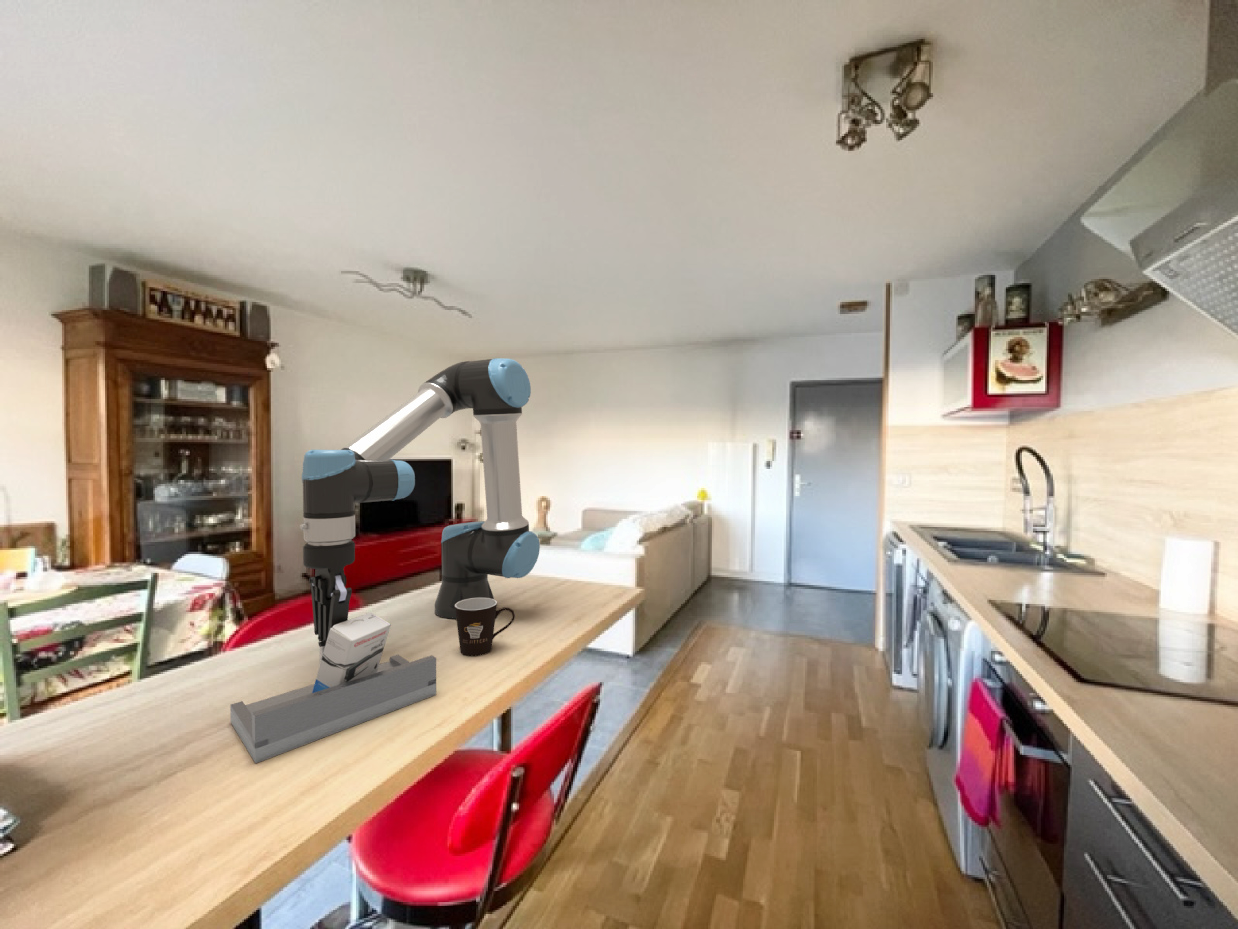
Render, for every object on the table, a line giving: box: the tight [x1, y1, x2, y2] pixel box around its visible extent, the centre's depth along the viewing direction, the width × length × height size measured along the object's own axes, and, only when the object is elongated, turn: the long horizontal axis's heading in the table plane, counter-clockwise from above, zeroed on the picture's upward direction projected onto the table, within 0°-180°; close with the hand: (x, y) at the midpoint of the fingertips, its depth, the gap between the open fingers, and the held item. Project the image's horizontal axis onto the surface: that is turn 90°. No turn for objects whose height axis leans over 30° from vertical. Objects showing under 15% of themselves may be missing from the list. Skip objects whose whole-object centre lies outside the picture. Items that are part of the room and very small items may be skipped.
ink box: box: [312, 612, 391, 693], centre depth 82 cm, size 8×5×12 cm, turn 162°
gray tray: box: [229, 654, 437, 764], centre depth 82 cm, size 26×15×6 cm, turn 138°
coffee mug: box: [455, 598, 516, 657], centre depth 106 cm, size 12×9×10 cm
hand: (330, 679), depth 84 cm, fingers closed
